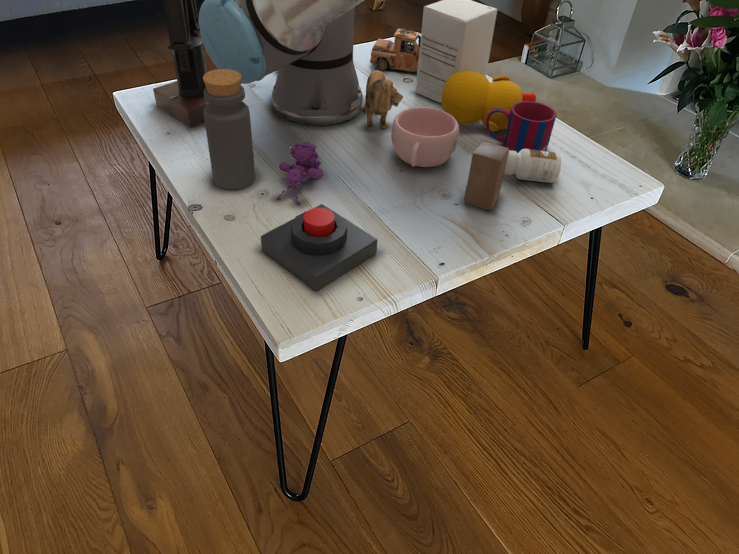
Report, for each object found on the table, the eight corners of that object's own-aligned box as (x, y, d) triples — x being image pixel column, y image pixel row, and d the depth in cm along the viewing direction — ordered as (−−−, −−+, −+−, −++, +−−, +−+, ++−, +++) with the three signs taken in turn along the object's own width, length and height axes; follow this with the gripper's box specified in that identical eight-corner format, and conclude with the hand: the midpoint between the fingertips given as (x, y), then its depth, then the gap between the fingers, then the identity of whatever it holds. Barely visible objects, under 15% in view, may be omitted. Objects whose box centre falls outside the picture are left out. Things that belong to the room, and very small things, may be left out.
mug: (399, 135, 97) (402, 100, 93) (460, 147, 95) (466, 113, 91) (377, 173, 88) (379, 137, 84) (444, 188, 86) (449, 151, 82)
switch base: (261, 249, 74) (259, 223, 72) (321, 217, 80) (321, 191, 77) (316, 291, 69) (316, 264, 67) (376, 253, 75) (378, 227, 72)
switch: (297, 227, 72) (297, 215, 71) (320, 215, 74) (320, 203, 73) (318, 241, 70) (318, 229, 69) (340, 228, 72) (340, 217, 71)
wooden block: (462, 203, 84) (472, 152, 78) (472, 189, 86) (481, 139, 81) (490, 212, 82) (501, 161, 77) (499, 197, 85) (510, 147, 80)
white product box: (445, 78, 113) (456, -7, 103) (483, 94, 109) (500, 8, 99) (413, 92, 108) (422, 4, 98) (452, 110, 104) (466, 20, 94)
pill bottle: (564, 151, 85) (510, 144, 85) (559, 182, 86) (505, 176, 85) (553, 154, 90) (502, 148, 89) (549, 184, 90) (498, 178, 90)
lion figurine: (401, 139, 96) (406, 85, 90) (368, 141, 95) (371, 86, 89) (382, 97, 106) (385, 46, 100) (352, 98, 106) (353, 47, 99)
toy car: (372, 58, 119) (374, 22, 114) (433, 64, 118) (437, 28, 114) (368, 71, 114) (370, 34, 109) (432, 77, 113) (436, 40, 109)
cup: (541, 166, 92) (553, 125, 87) (477, 151, 94) (485, 111, 90) (548, 145, 97) (559, 106, 92) (486, 132, 99) (494, 93, 94)
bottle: (220, 194, 82) (206, 89, 72) (208, 172, 86) (192, 70, 76) (261, 184, 85) (252, 82, 75) (247, 163, 88) (237, 63, 78)
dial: (201, 81, 101) (194, 31, 95) (214, 93, 98) (207, 41, 92) (174, 88, 98) (164, 37, 93) (186, 99, 96) (177, 47, 90)
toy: (533, 93, 102) (446, 75, 103) (545, 74, 94) (450, 55, 94) (521, 145, 102) (434, 127, 103) (533, 130, 93) (437, 111, 94)
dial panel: (156, 105, 100) (152, 87, 98) (202, 90, 105) (199, 72, 103) (190, 128, 95) (187, 109, 93) (237, 110, 100) (235, 92, 98)
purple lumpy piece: (332, 142, 84) (312, 163, 78) (330, 184, 88) (310, 207, 81) (288, 133, 85) (264, 153, 79) (287, 175, 89) (265, 197, 82)
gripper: (150, -100, 88) (176, 58, 103) (124, -69, 74) (159, 107, 90) (203, -98, 88) (221, 58, 104) (186, -67, 75) (210, 107, 91)
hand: (192, 80), depth 97 cm, fingers closed on dial, 5 cm apart
